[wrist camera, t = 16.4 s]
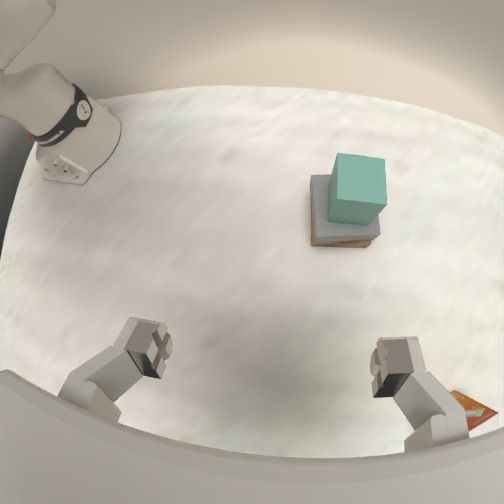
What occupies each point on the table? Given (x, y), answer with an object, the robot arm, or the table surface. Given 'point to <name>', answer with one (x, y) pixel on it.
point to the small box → (477, 415)
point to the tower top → (333, 230)
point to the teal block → (356, 189)
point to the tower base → (337, 244)
